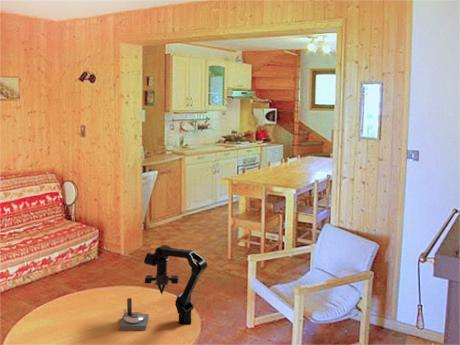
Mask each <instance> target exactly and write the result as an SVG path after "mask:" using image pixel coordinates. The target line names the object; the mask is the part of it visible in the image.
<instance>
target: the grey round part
mask: <svg viewBox="0 0 460 345" xmlns="http://www.w3.org/2000/svg"><path fill="white" fill-rule="evenodd" d="M126 300H127V301H126V308H127V309H126V315H125V316H124V321H125V322H126V323H130V324H137V323H140V322H142V321H144V319H145V316H144V314H145V313H142V312H139V311H133V310H132V309H133V308H132V307H133V306H132V305H133V304H132V302H133V301H132V298H131V297H129V298H127V299H126Z"/></svg>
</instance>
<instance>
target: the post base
mask: <svg viewBox="0 0 460 345" xmlns="http://www.w3.org/2000/svg"><path fill="white" fill-rule="evenodd" d="M126 312H127V309H125V308H124V309H123V314H122V318H121V320H120V322H119V326H118V327H119V331H121V330H122V331H146V329H147V326H148V322H149V318H150V317H149V316H150V315H149V313H143V314H144V316H145V319H144V321H142V322H140V323H137V324H130V323H126V322H125V321H124V316H125V315H126Z"/></svg>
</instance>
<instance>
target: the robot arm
mask: <svg viewBox="0 0 460 345" xmlns="http://www.w3.org/2000/svg"><path fill="white" fill-rule="evenodd" d="M169 257H172V258H182V259H186V260H187V263H188V265H189V266H190V268H191V270H190V271H191V274H190V277H189V279H188V281H187V284H186V286H185V287H184V290H183V292H181V293H180V294H178V295H177V296H176V300H175V301H174V302H175V303H174V304H175V308H176V312H177V314H178V322H179V323H178V324H179V325H191V324H192V310H194V307H195V306H194V304H193V303H192V302H191V300H192V297H191V296H192V294H193V291H194V290H195V287H196V285H197V283H198V281H199V279H200V277H201V276H202V274H203V273H204V272H205V270H206V269H207V268H208V263H207V261H206V260H205V259H204V258H203V257H202V256H200V255H199V254H197V253H196V252H195V250H193V249H181V248H173V247H170V246H169V245H165V244H163V245H161V246H158V247H156V248H155V249H154V253H151V252H148V253H147V252H146V255H145V257H144V260H143V261H144V264H145V265H147V266H151V267H156V275H155V277H154V276H153V275H154V274H153V275H152V274H151V275H150V274H148V275H145V277H144V284H151V283H152V282H154V285H156V286H157V287H158V289H159V292H160V294H161V295H162V294H163V293H164V290H165V288H166V286H167V285H169V282H170V283H171V284H173V285H174V284H176V285H177V284H179V278H180V277H179V275H171V276H170V277H169V275H168V262H169V261H171V259H170V258H169ZM195 261H196V262H195Z"/></svg>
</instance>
